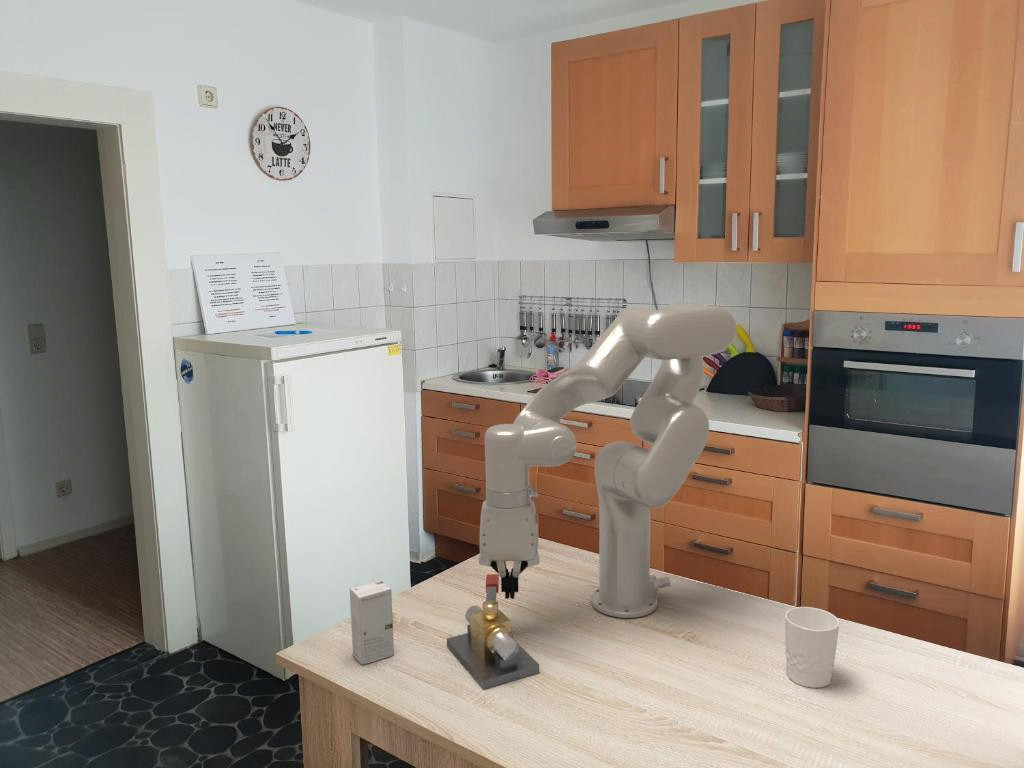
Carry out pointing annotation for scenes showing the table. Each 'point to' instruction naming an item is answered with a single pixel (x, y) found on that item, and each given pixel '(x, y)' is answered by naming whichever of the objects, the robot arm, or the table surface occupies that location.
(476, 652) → the valve manifold
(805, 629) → the white cup
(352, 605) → the skincare box
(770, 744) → the table surface
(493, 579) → the valve lever
